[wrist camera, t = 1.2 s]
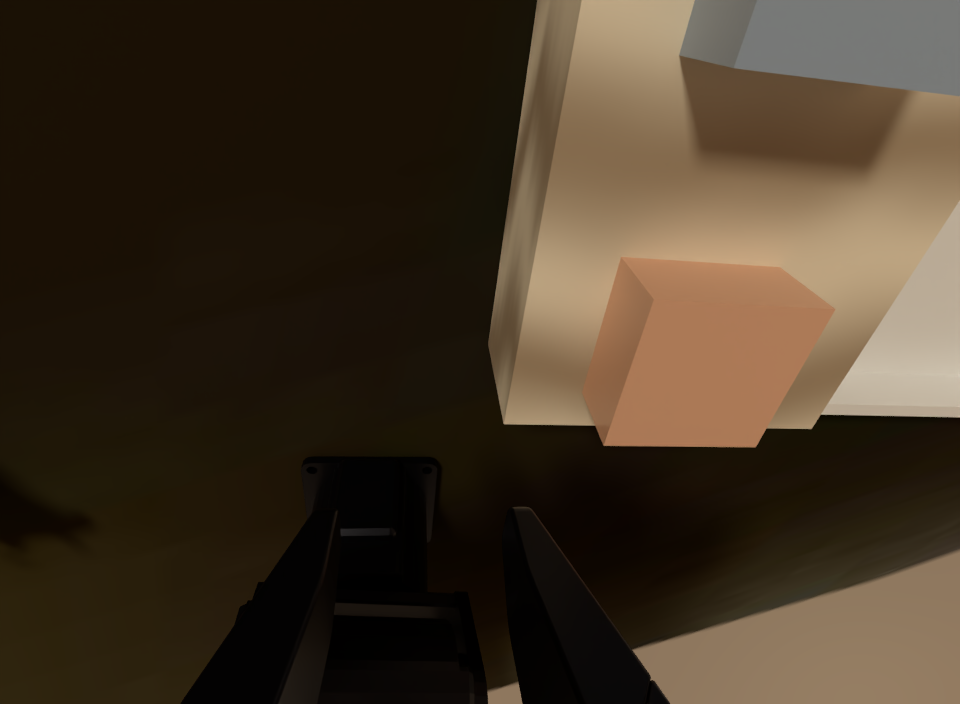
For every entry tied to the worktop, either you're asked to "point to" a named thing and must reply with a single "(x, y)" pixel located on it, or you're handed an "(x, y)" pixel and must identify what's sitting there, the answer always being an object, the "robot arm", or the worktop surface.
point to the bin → (913, 343)
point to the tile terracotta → (698, 352)
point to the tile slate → (833, 40)
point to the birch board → (702, 194)
